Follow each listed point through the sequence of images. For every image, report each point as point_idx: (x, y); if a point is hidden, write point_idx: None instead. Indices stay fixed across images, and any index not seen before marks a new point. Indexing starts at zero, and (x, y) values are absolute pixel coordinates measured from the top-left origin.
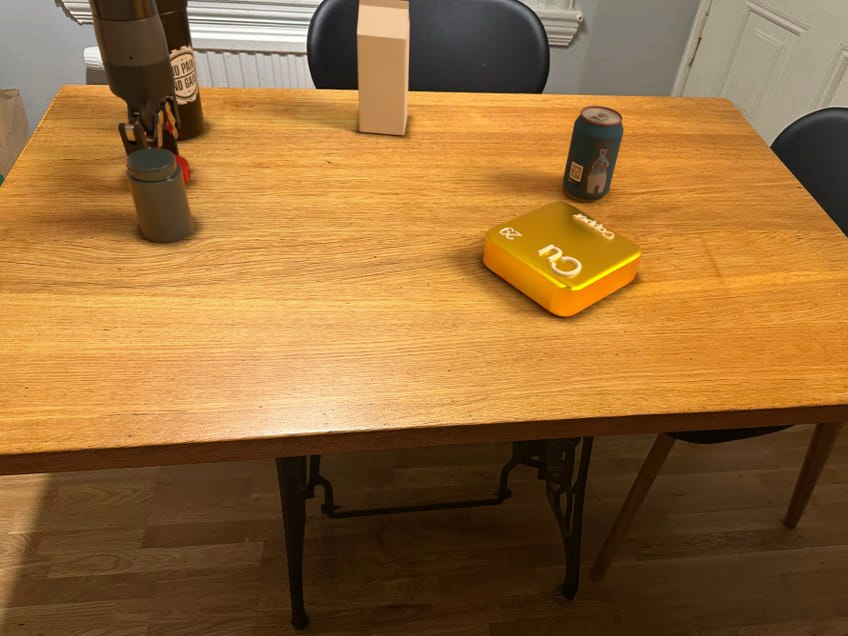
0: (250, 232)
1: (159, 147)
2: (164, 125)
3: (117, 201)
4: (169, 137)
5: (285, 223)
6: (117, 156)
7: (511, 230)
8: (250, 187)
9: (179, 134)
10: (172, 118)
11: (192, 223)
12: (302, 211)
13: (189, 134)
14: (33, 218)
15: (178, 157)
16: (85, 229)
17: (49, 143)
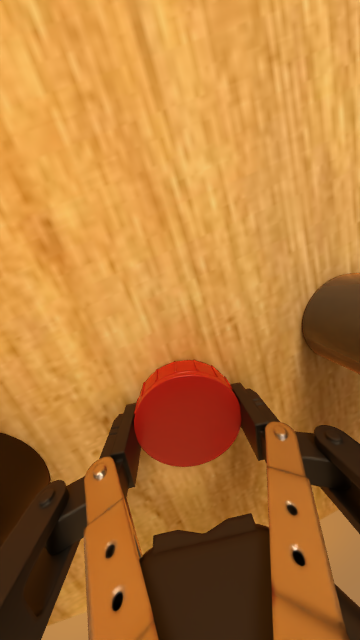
0: (339, 151)
1: (276, 469)
2: (161, 546)
3: None
4: (120, 474)
5: (293, 69)
6: (136, 499)
7: None
8: (157, 228)
9: (19, 461)
10: (102, 563)
11: (352, 275)
12: (229, 34)
13: (3, 445)
14: None
15: (144, 412)
16: (351, 426)
17: None
